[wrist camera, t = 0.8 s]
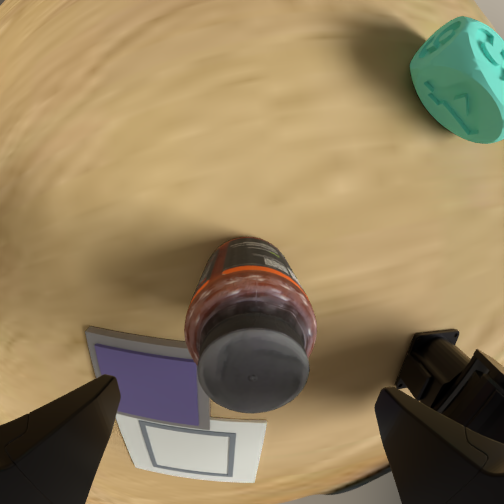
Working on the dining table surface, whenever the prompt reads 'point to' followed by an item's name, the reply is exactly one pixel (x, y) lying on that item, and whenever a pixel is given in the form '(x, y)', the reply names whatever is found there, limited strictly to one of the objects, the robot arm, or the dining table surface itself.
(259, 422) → the form board
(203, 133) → the dining table surface
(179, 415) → the ink pad
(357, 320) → the dining table surface
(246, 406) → the supplement bottle
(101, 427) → the robot arm
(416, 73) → the decorative dice
